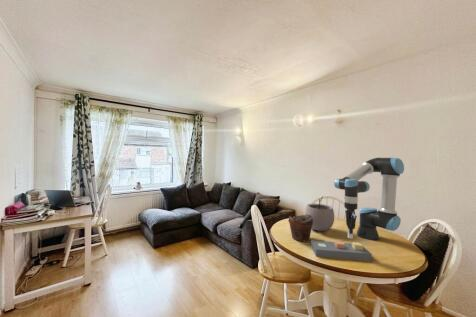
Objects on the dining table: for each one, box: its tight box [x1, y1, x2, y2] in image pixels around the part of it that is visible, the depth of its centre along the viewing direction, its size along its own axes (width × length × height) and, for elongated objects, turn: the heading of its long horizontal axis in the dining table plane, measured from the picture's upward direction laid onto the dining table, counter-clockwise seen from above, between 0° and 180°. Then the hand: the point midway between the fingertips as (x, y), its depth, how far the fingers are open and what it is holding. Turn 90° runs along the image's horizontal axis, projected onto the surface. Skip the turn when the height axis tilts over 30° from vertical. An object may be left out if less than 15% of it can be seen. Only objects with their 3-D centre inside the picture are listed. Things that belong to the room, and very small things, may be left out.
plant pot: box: [304, 196, 335, 232], centre depth 178 cm, size 24×24×30 cm
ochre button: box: [351, 241, 364, 250], centre depth 133 cm, size 5×5×4 cm
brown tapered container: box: [287, 214, 313, 242], centre depth 158 cm, size 18×20×18 cm
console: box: [310, 240, 373, 262], centre depth 134 cm, size 33×14×4 cm, turn 82°
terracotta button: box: [333, 240, 345, 249], centre depth 134 cm, size 5×5×4 cm
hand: (350, 237), depth 134 cm, fingers closed
